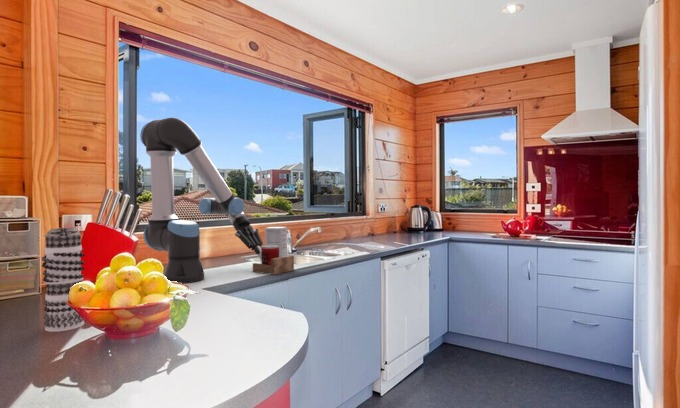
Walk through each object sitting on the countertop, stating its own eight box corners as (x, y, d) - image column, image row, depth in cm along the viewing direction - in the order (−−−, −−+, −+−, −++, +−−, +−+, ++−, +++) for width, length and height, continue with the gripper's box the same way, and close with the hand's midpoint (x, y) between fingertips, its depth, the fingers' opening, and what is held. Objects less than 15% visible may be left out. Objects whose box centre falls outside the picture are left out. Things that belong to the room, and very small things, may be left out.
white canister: (288, 257, 219) (287, 226, 219) (282, 260, 210) (282, 227, 209) (271, 257, 221) (270, 226, 220) (264, 260, 212) (264, 227, 211)
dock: (274, 274, 172) (273, 259, 171) (252, 271, 179) (252, 256, 179) (293, 270, 182) (293, 255, 182) (272, 267, 189) (272, 253, 189)
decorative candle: (94, 321, 108) (93, 227, 108) (69, 332, 99) (67, 230, 98) (61, 320, 109) (60, 227, 108) (33, 332, 99) (31, 230, 99)
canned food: (281, 269, 184) (281, 244, 183) (276, 272, 176) (275, 247, 175) (265, 268, 185) (264, 244, 184) (259, 272, 177) (258, 247, 177)
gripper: (245, 224, 200) (270, 261, 191) (224, 226, 189) (249, 265, 180) (253, 214, 197) (278, 251, 188) (231, 215, 186) (257, 255, 177)
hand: (264, 258), depth 184 cm, fingers closed
